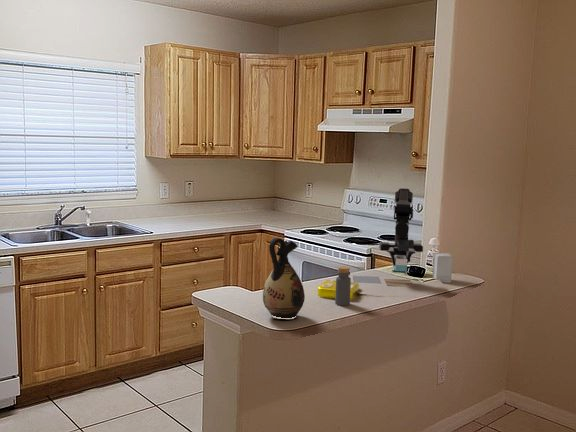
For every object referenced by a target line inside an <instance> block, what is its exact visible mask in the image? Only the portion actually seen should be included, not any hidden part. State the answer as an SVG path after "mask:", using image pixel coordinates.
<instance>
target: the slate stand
mask: <svg viewBox="0 0 576 432" xmlns="http://www.w3.org/2000/svg"><path fill="white" fill-rule="evenodd" d="M352 282H353V283H358V284H359V283H362V284H363V283H364V284H382V281H381V278H380V277H379V276H372V275H371V276H369V275H368V276H367V275H352Z"/></svg>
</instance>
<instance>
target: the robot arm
mask: <svg viewBox="0 0 576 432" xmlns="http://www.w3.org/2000/svg"><path fill="white" fill-rule="evenodd" d="M413 194H414V193H413V192H412V191H410V189H409V188H405V187H404V188H398V190H397V191H395V193H394V203H395V205H394V210H393V220H395V228H394V229H395V231H394V233H395V234H394V244H390V243H389V242H388V241H387V242H385V241H380V242H379V245H378V248H379V250H380V251H386V252H387V253H389V255H390V258H391V262H392V267H393V266H394V265H395V259H394V255H405V257H406V258H407V265H408V263H411V257H412V255H413V254H416V253H423V252H424V246H423V245H422V244H421V243H414V242H415V241H414V239H409V230H410V228H409V227H410V221H412V219H414V217H413V216H414V208H413V206H411V205H412V204H413V198H414V195H413ZM391 271H392V273H400V274H401V273H402V274H404V273H405V274H407V272H406V271H395V270H394V269H392V270H391Z"/></svg>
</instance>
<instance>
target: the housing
mask: <svg viewBox="0 0 576 432" xmlns="http://www.w3.org/2000/svg"><path fill="white" fill-rule="evenodd" d="M394 259H395V265H394V266H393V265H392V268H393V270H395V271H406V273H407V271H408V264H407V258H406V257H405V255H394Z"/></svg>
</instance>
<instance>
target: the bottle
mask: <svg viewBox="0 0 576 432" xmlns="http://www.w3.org/2000/svg"><path fill="white" fill-rule="evenodd" d="M337 270H338V271H337V273H336V275H338V276H337V277H336V278H335V281H336V295H335V299H334V300H335V305H336V304H337V305H336V306H339V305H340V306H341V307H347V306H349V305H350V304H351V303H350V302H351V300H350V287H351V282H352V279H351V277H350V275H351V272H350V270H351V267H349V266H347V265H346V266H345V265H341V266H338V268H337Z"/></svg>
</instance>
